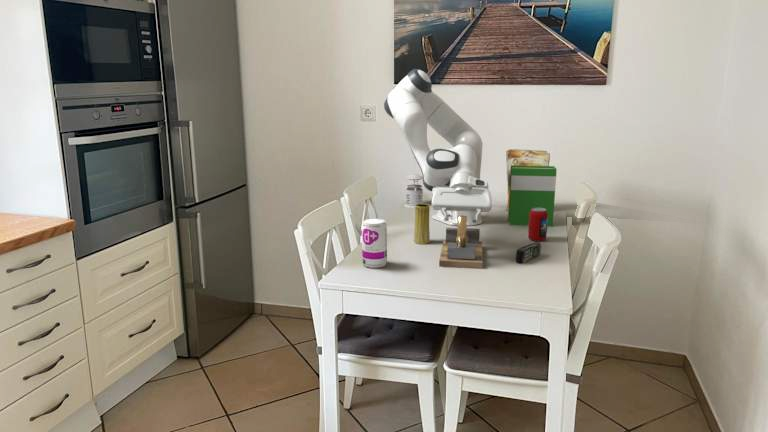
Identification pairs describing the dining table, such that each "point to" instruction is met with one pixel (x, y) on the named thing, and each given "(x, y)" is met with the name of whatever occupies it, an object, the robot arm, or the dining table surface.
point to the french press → (413, 195)
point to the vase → (422, 224)
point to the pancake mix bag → (525, 161)
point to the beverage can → (538, 224)
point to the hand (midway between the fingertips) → (460, 220)
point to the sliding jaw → (461, 243)
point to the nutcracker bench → (461, 261)
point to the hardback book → (531, 192)
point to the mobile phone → (528, 252)
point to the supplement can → (374, 243)
